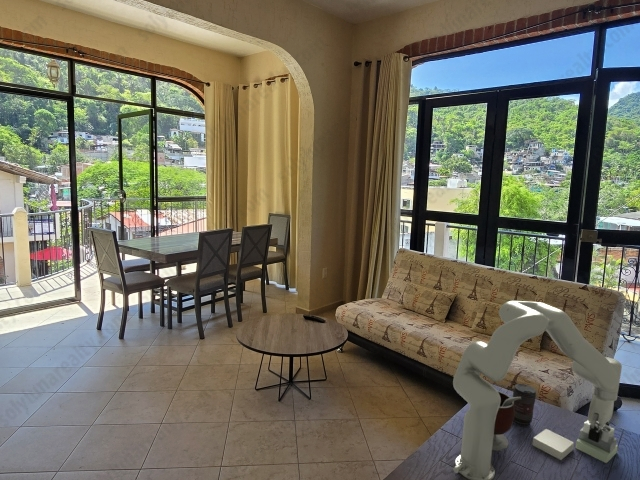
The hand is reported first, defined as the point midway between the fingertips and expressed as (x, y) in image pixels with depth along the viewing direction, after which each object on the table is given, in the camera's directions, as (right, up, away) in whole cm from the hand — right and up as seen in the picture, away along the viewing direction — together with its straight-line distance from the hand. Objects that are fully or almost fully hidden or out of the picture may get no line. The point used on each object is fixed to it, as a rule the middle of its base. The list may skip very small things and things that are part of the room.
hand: (598, 436), depth 150 cm
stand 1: (-16, -5, +2) cm, 17 cm away
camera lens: (-20, -3, +17) cm, 26 cm away
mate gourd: (-37, -4, +5) cm, 37 cm away
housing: (0, -3, 0) cm, 3 cm away
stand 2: (0, -6, +1) cm, 6 cm away
